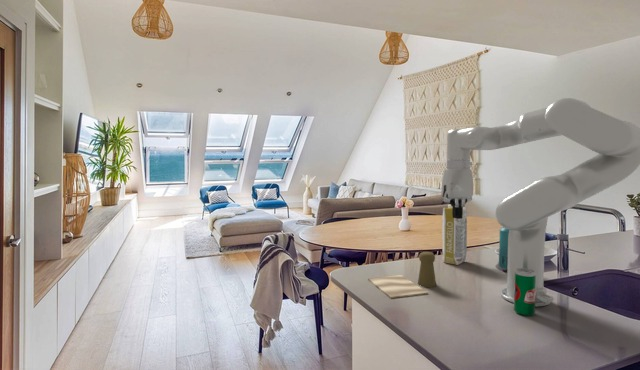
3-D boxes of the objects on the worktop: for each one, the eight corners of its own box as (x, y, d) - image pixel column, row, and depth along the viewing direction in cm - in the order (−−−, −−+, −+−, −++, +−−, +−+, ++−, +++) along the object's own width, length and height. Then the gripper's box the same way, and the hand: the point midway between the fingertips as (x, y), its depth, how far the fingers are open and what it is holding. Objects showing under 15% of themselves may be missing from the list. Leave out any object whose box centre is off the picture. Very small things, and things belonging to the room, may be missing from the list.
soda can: (527, 318, 94) (528, 274, 93) (509, 311, 98) (510, 269, 98) (539, 314, 96) (540, 271, 96) (521, 307, 101) (522, 266, 100)
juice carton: (449, 257, 153) (450, 202, 151) (468, 261, 147) (469, 204, 146) (440, 262, 146) (440, 204, 145) (459, 266, 141) (459, 206, 139)
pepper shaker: (437, 287, 118) (437, 255, 117) (418, 286, 119) (418, 254, 118) (435, 281, 124) (435, 250, 123) (417, 280, 125) (417, 250, 124)
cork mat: (427, 293, 112) (428, 292, 112) (390, 298, 109) (390, 296, 109) (401, 276, 130) (401, 274, 130) (368, 279, 126) (368, 278, 126)
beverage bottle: (499, 272, 132) (500, 219, 131) (497, 267, 139) (498, 216, 137) (518, 274, 130) (520, 220, 129) (516, 268, 136) (517, 217, 135)
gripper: (469, 165, 127) (468, 215, 128) (432, 165, 123) (432, 217, 125) (484, 165, 120) (483, 218, 121) (445, 165, 116) (444, 221, 117)
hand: (457, 218), depth 123 cm, fingers closed
